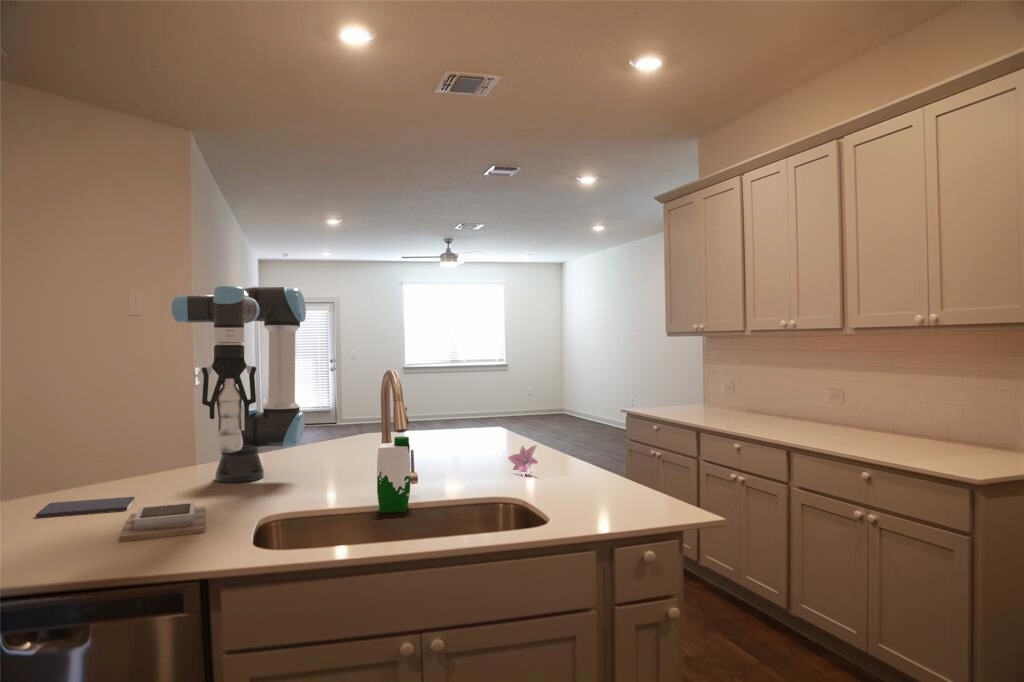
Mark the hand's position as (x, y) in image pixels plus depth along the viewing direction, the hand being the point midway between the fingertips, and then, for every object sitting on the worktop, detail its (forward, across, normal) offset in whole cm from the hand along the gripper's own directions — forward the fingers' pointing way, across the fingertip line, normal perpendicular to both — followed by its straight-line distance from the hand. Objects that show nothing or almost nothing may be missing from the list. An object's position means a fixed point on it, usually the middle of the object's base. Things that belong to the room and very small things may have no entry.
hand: (229, 430), depth 179 cm
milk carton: (+23, +42, -12) cm, 49 cm away
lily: (+23, +96, +16) cm, 100 cm away
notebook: (+24, -35, +25) cm, 50 cm away
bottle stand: (+23, -15, -2) cm, 28 cm away
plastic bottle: (+6, 0, 0) cm, 6 cm away
